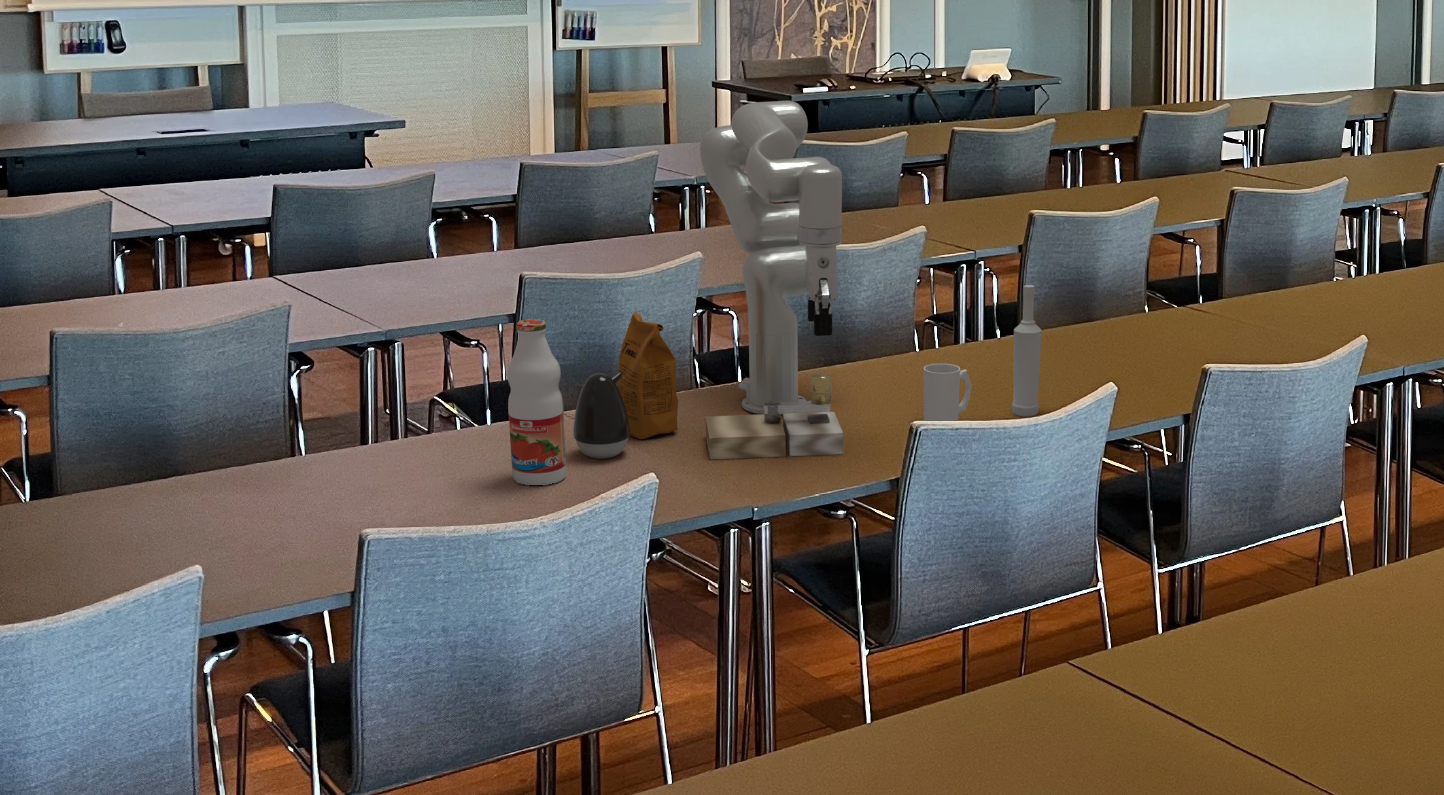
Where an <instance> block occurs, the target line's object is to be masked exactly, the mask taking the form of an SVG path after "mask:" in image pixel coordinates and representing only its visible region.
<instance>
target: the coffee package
mask: <svg viewBox="0 0 1444 795" xmlns="http://www.w3.org/2000/svg"><path fill="white" fill-rule="evenodd" d="M643 320H644V319H643V316H642V315H641V314H639V313H638V312H637V311H636V312H633V313H632V314H631V317H630V321H629V323H628V326H627V329H626V333H625V336H624V338H623V341H622V344H621V348H620V353H619V359H618V369H617V373H618V372H620V373H621V374H622V377H621V378H620V379H619V380H618V381H617V382H616V385H617V387H618V389H619V391H620V393H621V396H622V398H623V401H624V404H625V407H626V411H627V415H628V420H629V426H630V436H629V437H633V438H636V439H638V440H645V439H648V438H650V437H654V436H657V435H664V434H670V433H672V432H675V431H678V412H679V411H678V409H679V398H678V396H677V389H678V386H677V385H678V384H677V362H676V361H677V360H676V358H675V356H674V354H673V352H672V351H671V349H670V348H669V346H668V345H667V343H666V342H665V341H664V340H665V339H664V338H663V336H662V335H661V333H660V332H662V331H663V330H664V329H665V328H664V326H663V324H661V323H657V322H650V321H643Z"/></svg>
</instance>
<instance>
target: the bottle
mask: <svg viewBox="0 0 1444 795" xmlns="http://www.w3.org/2000/svg"><path fill="white" fill-rule="evenodd" d="M1035 289H1036V288H1035V285H1033V284H1025V285H1023V289H1022V290H1023V292H1022V293H1023V295H1022V296H1023V300H1022V301H1023V302H1022V304H1023V305H1022V320H1021V321H1020V323H1019V324H1018V325H1017V326H1016V327H1015V328H1014V329H1013V384H1012V385H1013V386H1012V387H1013V389H1012V390H1013V396H1012V397H1013V398H1012V400H1013V402H1012V403H1011V411H1012V414H1013V415H1016V416H1017V417H1035V416H1037V415H1038V413H1039V410H1040V404H1039V402H1038V401H1039V384H1040V382H1039V381H1040V366H1041V352H1042V351H1041V348H1042V347H1041V346H1042V332H1043V330H1042V329H1041V328H1040V327H1039V326H1038V325H1037V324H1036V321H1035V320H1034V315H1035V314H1034V310H1035V309H1034V308H1035Z"/></svg>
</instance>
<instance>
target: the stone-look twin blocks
mask: <svg viewBox="0 0 1444 795" xmlns="http://www.w3.org/2000/svg"><path fill="white" fill-rule="evenodd" d="M843 431H844V430H843V429H842V427H841V425H840V422H839V420H838V418H837V415H836V412H835V411H830V412H807V413H788V414H782V420H781V421H780V422H778V423H767V422H765V421H764V414H742V415H741V414H740V415H739V414H738V415H737V414H736V415H717V416H715V415H714V416H713V415H712V416H705V439H706V444H707V450H708V455H709V460H726V459H729V460H730V459H732V460H733V459H751V458H752V459H753V458H754V459H755V458H779V457H781V458H782V457H783V458H784V457H786V456H787V455H786V454H787V453H786V452H788V454H789V457H797V456H798V457H802V456H803V457H804V456H807V457H808V456H827V455H828V456H829V455H831V456H832V455H833V456H834V455H843V454H844V432H843ZM786 449H787V450H786Z"/></svg>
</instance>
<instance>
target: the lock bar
mask: <svg viewBox="0 0 1444 795" xmlns="http://www.w3.org/2000/svg"><path fill="white" fill-rule="evenodd" d="M810 377H811V379H810V380H811V381H810V382H811V384H810V386H811V388H810V389H811V391H810V393H811V394H810V395H811V399H810V400H806V401H787V402H764V421H765V422H767V423H778V422H780V421H781V422H782V418H781V413H815V412H831V403H832V375H831V374H829V373H826V372H823V373H822V372H819V373H813V374H811V375H810Z"/></svg>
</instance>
